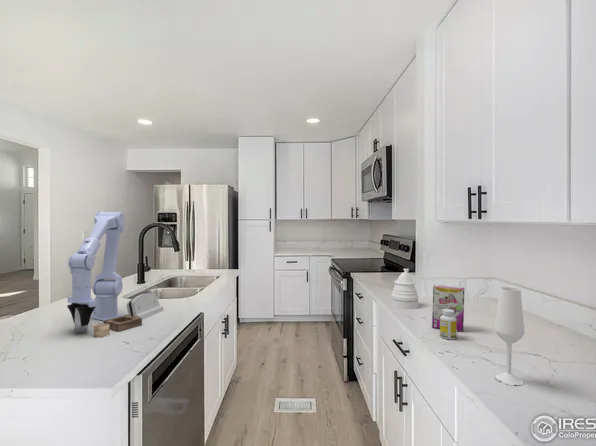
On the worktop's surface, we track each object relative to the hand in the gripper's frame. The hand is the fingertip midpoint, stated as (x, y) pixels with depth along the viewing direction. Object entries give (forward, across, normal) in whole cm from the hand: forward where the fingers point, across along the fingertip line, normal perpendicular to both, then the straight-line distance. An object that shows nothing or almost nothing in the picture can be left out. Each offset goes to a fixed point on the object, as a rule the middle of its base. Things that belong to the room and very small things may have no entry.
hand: (81, 324), depth 123 cm
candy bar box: (+3, +115, +74) cm, 137 cm away
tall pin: (+3, 0, 0) cm, 3 cm away
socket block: (+3, +6, +12) cm, 14 cm away
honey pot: (+3, +93, +102) cm, 138 cm away
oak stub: (+3, +9, +2) cm, 10 cm away
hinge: (+3, -1, +27) cm, 27 cm away
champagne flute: (+3, +133, +35) cm, 138 cm away
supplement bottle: (+3, +116, +63) cm, 132 cm away
